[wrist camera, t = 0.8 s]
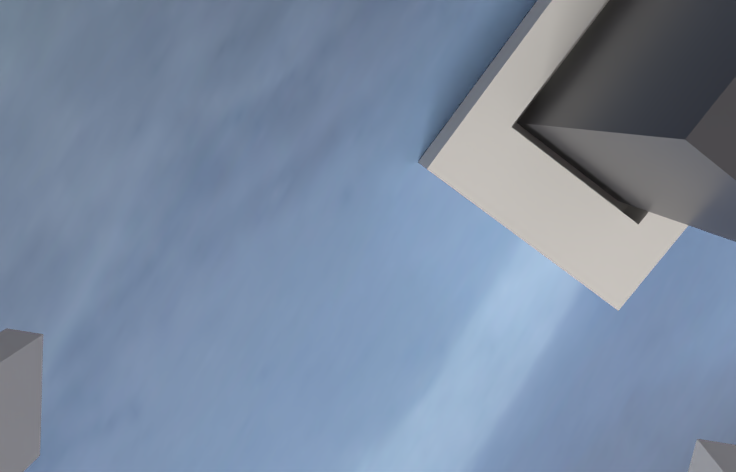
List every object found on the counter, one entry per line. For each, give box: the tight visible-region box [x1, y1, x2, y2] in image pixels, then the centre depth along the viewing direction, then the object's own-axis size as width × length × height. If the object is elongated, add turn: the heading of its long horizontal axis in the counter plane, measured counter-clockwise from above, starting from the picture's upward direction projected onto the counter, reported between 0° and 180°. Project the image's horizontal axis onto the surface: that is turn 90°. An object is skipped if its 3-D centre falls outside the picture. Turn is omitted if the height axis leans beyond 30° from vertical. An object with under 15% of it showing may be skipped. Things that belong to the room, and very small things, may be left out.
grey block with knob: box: [517, 0, 736, 242], centre depth 16 cm, size 6×4×12 cm
